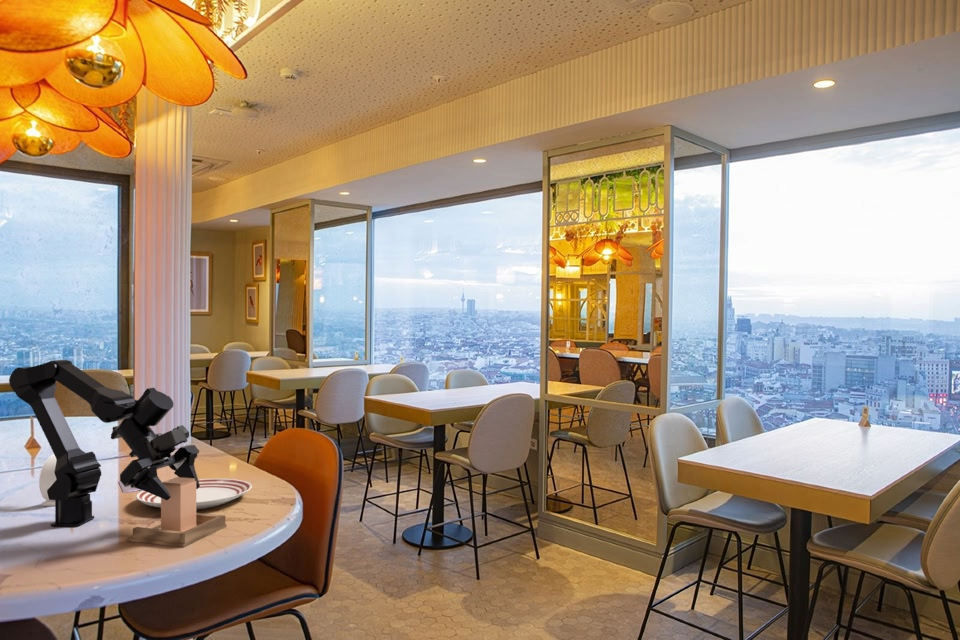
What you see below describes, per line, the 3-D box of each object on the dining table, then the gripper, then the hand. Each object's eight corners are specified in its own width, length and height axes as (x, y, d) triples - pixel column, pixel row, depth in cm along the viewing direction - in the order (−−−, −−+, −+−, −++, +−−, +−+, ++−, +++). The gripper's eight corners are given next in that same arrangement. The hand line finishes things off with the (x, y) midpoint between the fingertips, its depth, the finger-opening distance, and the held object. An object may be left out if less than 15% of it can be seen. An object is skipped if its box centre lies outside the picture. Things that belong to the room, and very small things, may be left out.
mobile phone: (123, 490, 178) (118, 479, 191) (123, 494, 178) (118, 482, 191) (154, 486, 182) (147, 475, 195) (154, 490, 182) (147, 479, 195)
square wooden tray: (127, 541, 140) (127, 528, 140) (174, 521, 153) (174, 510, 153) (183, 547, 136) (183, 534, 136) (226, 526, 150) (226, 515, 150)
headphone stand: (72, 500, 171) (72, 454, 171) (57, 507, 165) (57, 459, 165) (54, 500, 171) (54, 454, 171) (38, 507, 165) (39, 459, 165)
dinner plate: (143, 493, 179) (143, 480, 179) (250, 484, 189) (250, 472, 189) (129, 522, 153) (129, 508, 153) (253, 510, 163) (253, 497, 163)
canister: (161, 532, 143) (161, 482, 143) (177, 525, 148) (177, 476, 148) (180, 534, 142) (180, 483, 142) (196, 527, 147) (196, 478, 147)
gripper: (131, 422, 137) (176, 479, 134) (192, 410, 155) (233, 459, 152) (100, 457, 139) (143, 514, 136) (164, 441, 157) (203, 491, 154)
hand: (184, 493), depth 144 cm, fingers open, 9 cm apart
